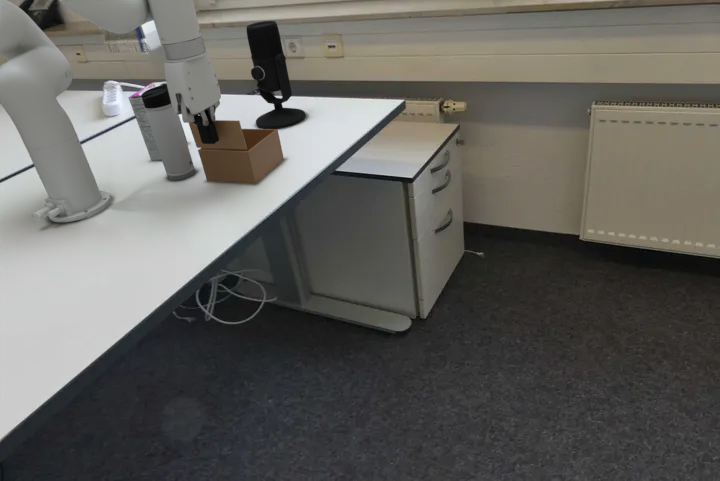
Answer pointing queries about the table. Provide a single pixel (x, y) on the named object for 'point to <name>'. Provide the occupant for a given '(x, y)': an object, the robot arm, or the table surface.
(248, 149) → the carton
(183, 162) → the travel mug
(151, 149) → the candy bar box
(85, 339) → the table surface
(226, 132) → the front flap
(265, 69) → the microphone
